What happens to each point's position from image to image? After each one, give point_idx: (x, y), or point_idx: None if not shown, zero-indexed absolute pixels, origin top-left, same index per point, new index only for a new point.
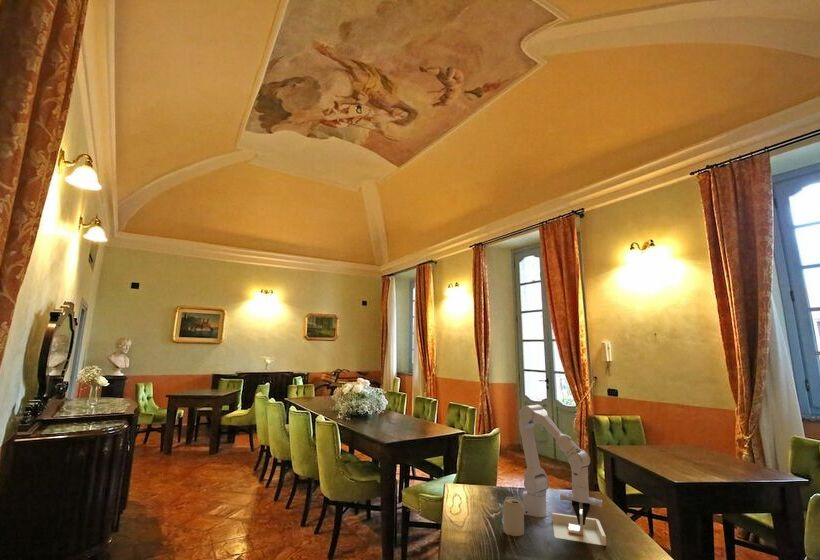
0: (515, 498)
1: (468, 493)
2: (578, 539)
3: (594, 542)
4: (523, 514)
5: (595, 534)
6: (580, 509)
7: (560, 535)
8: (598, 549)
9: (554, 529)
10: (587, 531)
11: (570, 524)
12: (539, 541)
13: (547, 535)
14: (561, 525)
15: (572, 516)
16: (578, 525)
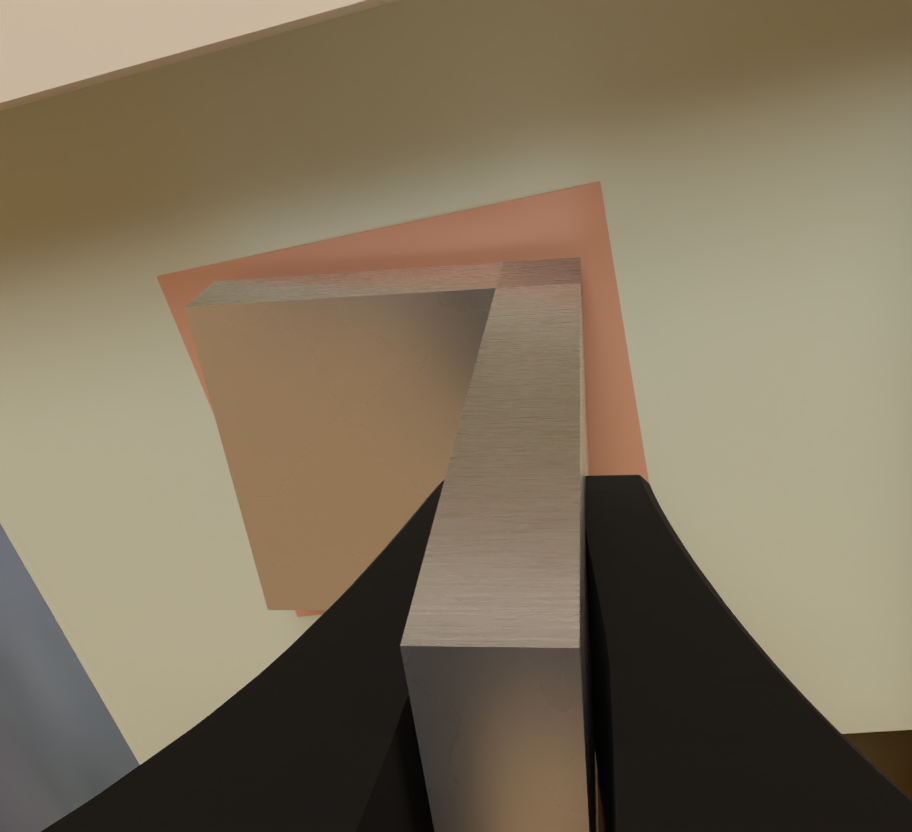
0: None
1: None
2: None
3: (815, 691)
4: None
5: (902, 322)
6: (460, 699)
7: (194, 688)
8: (855, 737)
9: (16, 520)
10: (693, 253)
11: (237, 345)
12: (13, 820)
13: (11, 638)
14: (44, 255)
15: (153, 36)
16: (446, 299)
